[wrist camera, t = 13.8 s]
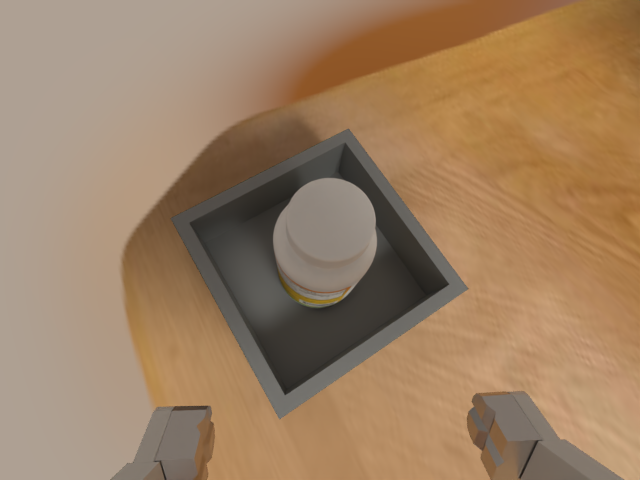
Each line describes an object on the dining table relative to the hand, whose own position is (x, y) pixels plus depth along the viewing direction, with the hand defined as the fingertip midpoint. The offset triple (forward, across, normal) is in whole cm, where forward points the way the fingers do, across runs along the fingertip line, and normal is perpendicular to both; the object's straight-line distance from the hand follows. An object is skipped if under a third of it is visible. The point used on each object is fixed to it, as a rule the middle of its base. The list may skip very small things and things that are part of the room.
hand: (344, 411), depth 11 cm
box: (+14, 0, +4) cm, 15 cm away
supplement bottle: (+14, 0, +3) cm, 14 cm away
